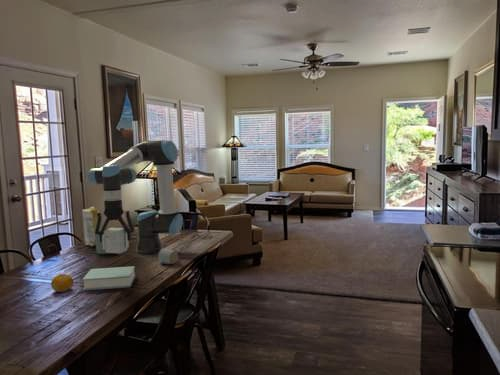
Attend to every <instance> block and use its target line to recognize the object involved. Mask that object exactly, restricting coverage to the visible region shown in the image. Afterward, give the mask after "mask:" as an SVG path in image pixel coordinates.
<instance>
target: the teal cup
mask: <svg viewBox="0 0 500 375" xmlns="http://www.w3.org/2000/svg"><path fill="white" fill-rule="evenodd" d="M103 234H104V233H103ZM94 235H95V240H96V245H95V247H96V248H95V249H96V250H95V251H96V253H97V254H98V255H104V254H106V255H107V254H108V253H106V252H105V250H103V243H102V242H100V235H98V234H95V233H94Z"/></svg>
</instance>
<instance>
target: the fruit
mask: <svg viewBox="0 0 500 375" xmlns="http://www.w3.org/2000/svg"><path fill="white" fill-rule="evenodd" d="M50 286H51V288H52V289H53V290H54V291H55V292H58V293H62V292H63V293H64V292H66V291H69V290H70V289H71V288H72V287H73V286H74V279H73V277H72V276H71V275H69V274H67V273H66V274H65V273H61V274H60V273H59V274H57V275H56V276H55V277H53V278H52V280H51V283H50Z"/></svg>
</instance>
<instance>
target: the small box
mask: <svg viewBox="0 0 500 375" xmlns="http://www.w3.org/2000/svg"><path fill="white" fill-rule="evenodd" d="M126 233H127V232H126V231H125V229H124V228H123V227H110V228H106V229H105V230H104V240H105V252H106V253H107V254H122V253H124V252H126V251H128V248H126V237H125V234H126Z"/></svg>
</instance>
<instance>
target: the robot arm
mask: <svg viewBox="0 0 500 375" xmlns="http://www.w3.org/2000/svg"><path fill="white" fill-rule="evenodd" d="M178 156H179V154H178V148H177V146H176V144H175V142H173V141H172V140H165V139H164V140H145V141H142V142H139V143H137V144H135V145H133V146H131V147H130V148H128V150H127V152H125V153H123V154H121V155H120V156H118V157H117V158H114V159H113V160H111V161H110V162H108V163H105V164H104V165H103V166H101V167H99V168H98V167H95V168H90V170H89V171H88V173H87V179H88V181H89V183H91V184H93V185H103V199H104V202H103V206H104V210H103V211H99V213H98V214H97V215H98V220H97V225H96V230H95V234H98V235H100V242H102V243H103V250H105V240H104V234H103V233H104V230H106V229H107V226H108V224H109V222H110V221H118V222H119V223H120V224H121V226H122V228H124V229H125V231H126V234H125V237H126V248H127V249H129V248H130V242H129V241H131V239H132V238H131V237H132V236H131V235H132V234H131V233H133V232H134V231H135V228H134V224H133V221H132V219H131V215H130V214H131V211H130V210H123V201H122V200H123V199H122V197H123V196H122V185H127V184H128V185H129V184H132V183H134V182H135V181H136V180H137V171H135V169H134V168H132V166H134V165H137V164H140V163H144V162H152V164H153V166H154V167H155V168H156V175H157V176H156V177H157V178H156V179H157V187H158V189H157V190H158V200H159V210H158V211H157V210H149V211H144V212H140V213H138V214H137V221H136V222H137V232H138V233H137V234H138V236H137V237H138V239H137V243H136V247H135V251H136V253H138V254H153V253H154V254H155V253H159V252H160V250H161V249H163V244H162V241H161V239H160V236H159V235H161V234H163V235H165V234H166V235H176V234H178V233H180V231H181V230H182V228H183V224H184V223H183V222H184V218H183V215H182V214H181V213H179V209H177V208H176V202H175V201H176V200H175V189H174V187H175V186H174V176H173V166H174V165H175V161H177V159H178ZM123 215H124V216H125V219H126V221H127V223H128V225H127V223H126V222H125V219H124V218H123V217H122V216H123ZM104 216H105V217H106V219H105V220H104V223H103V225H102V228H101V223H102V220H103V217H104ZM99 230H100V231H99Z"/></svg>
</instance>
